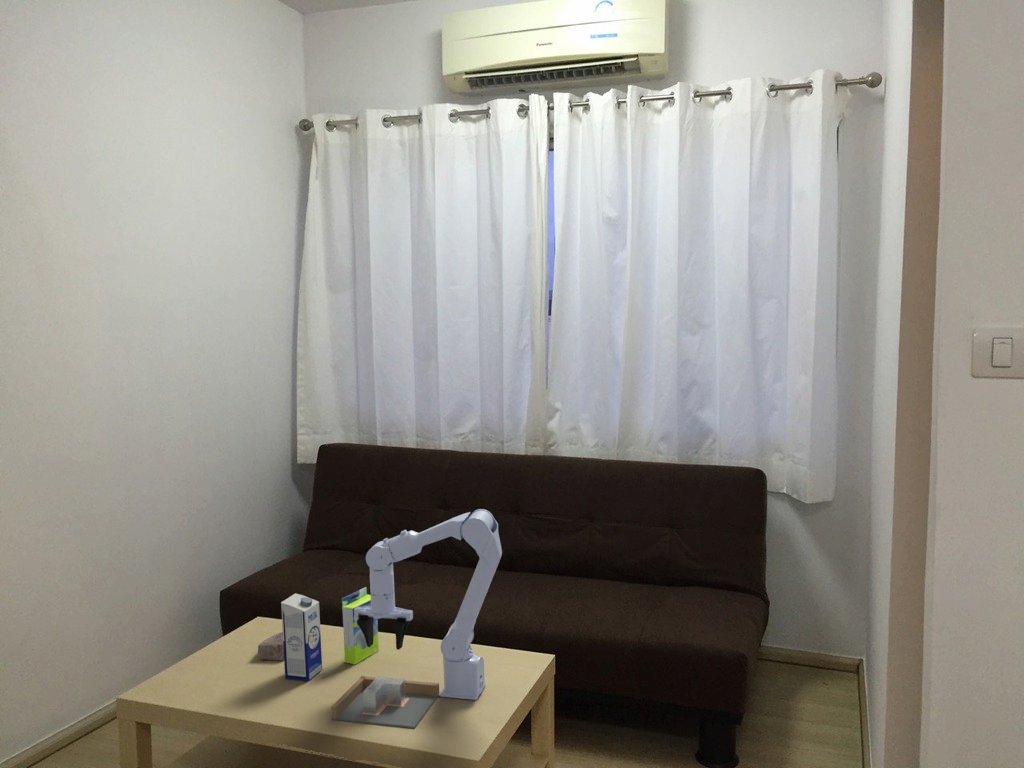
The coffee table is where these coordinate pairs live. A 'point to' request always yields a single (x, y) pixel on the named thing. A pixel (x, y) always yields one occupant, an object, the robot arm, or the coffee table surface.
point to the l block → (383, 694)
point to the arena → (387, 705)
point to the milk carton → (301, 637)
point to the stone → (272, 648)
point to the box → (357, 629)
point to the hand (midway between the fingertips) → (384, 646)
